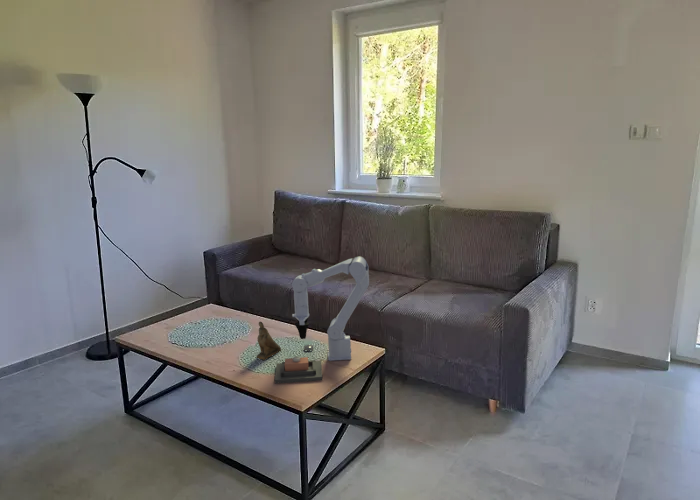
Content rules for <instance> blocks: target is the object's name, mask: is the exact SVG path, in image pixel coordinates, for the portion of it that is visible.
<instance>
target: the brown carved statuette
mask: <svg viewBox="0 0 700 500" xmlns="http://www.w3.org/2000/svg"><path fill="white" fill-rule="evenodd" d="M258 327H259V328H258V336H257V343H258V346H259V349H260V352H259V353H258V354H257V355H256V359H257V358H259V359H258V360H261V359H263V360H262V361H266V360H268V359H269V358H268V357H270V356H271V357H273V356H275V355H277V354H279V353H280V352H281V351H282V348H281V346H280V345H279V344H278V343H277V342H276V341H275V340H274V338H272V336H271V335H270V332H269V330H268V329H267V328H266V327H265V324H264V323H263V321H259V322H258ZM279 351H280V352H279ZM276 353H277V354H276ZM274 354H275V355H274ZM272 355H273V356H272ZM271 357H270V358H271ZM267 358H268V359H267ZM265 359H266V360H265Z"/></svg>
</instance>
